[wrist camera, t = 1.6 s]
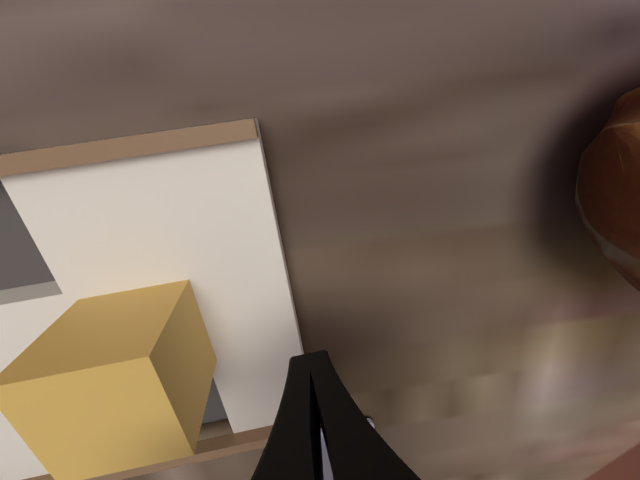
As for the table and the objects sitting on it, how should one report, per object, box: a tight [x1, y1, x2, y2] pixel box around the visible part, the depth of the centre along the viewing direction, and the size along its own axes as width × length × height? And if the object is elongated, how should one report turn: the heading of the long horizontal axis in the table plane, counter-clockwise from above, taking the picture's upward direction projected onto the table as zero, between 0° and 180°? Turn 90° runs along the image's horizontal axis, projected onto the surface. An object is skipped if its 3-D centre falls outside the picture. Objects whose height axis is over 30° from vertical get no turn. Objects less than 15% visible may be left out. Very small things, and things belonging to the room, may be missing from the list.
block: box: [0, 279, 217, 480], centre depth 13 cm, size 5×5×5 cm
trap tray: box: [0, 118, 304, 480], centre depth 15 cm, size 18×22×4 cm
